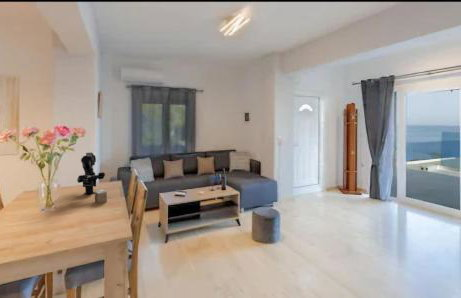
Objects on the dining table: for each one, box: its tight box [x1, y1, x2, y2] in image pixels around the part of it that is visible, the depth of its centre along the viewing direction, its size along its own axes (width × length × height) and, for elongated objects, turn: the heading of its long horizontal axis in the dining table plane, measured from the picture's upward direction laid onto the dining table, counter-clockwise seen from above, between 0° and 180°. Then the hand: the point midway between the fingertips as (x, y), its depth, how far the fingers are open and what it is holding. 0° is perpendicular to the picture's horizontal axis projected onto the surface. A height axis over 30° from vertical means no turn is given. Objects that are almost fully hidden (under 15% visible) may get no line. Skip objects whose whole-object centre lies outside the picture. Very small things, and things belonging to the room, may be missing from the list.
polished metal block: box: [93, 189, 108, 204], centre depth 192 cm, size 6×6×8 cm
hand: (95, 186), depth 196 cm, fingers closed
